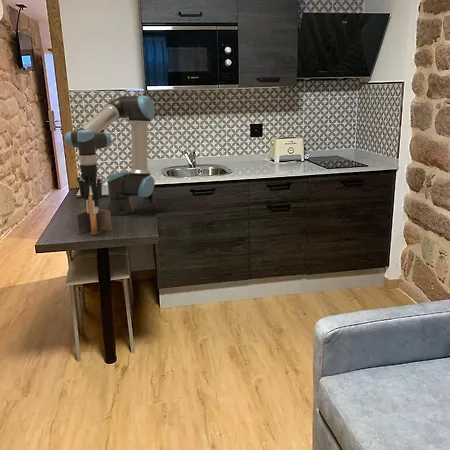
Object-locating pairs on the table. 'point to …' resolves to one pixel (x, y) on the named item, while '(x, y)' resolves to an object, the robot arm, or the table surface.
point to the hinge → (84, 221)
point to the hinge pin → (92, 216)
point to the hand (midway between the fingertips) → (92, 212)
